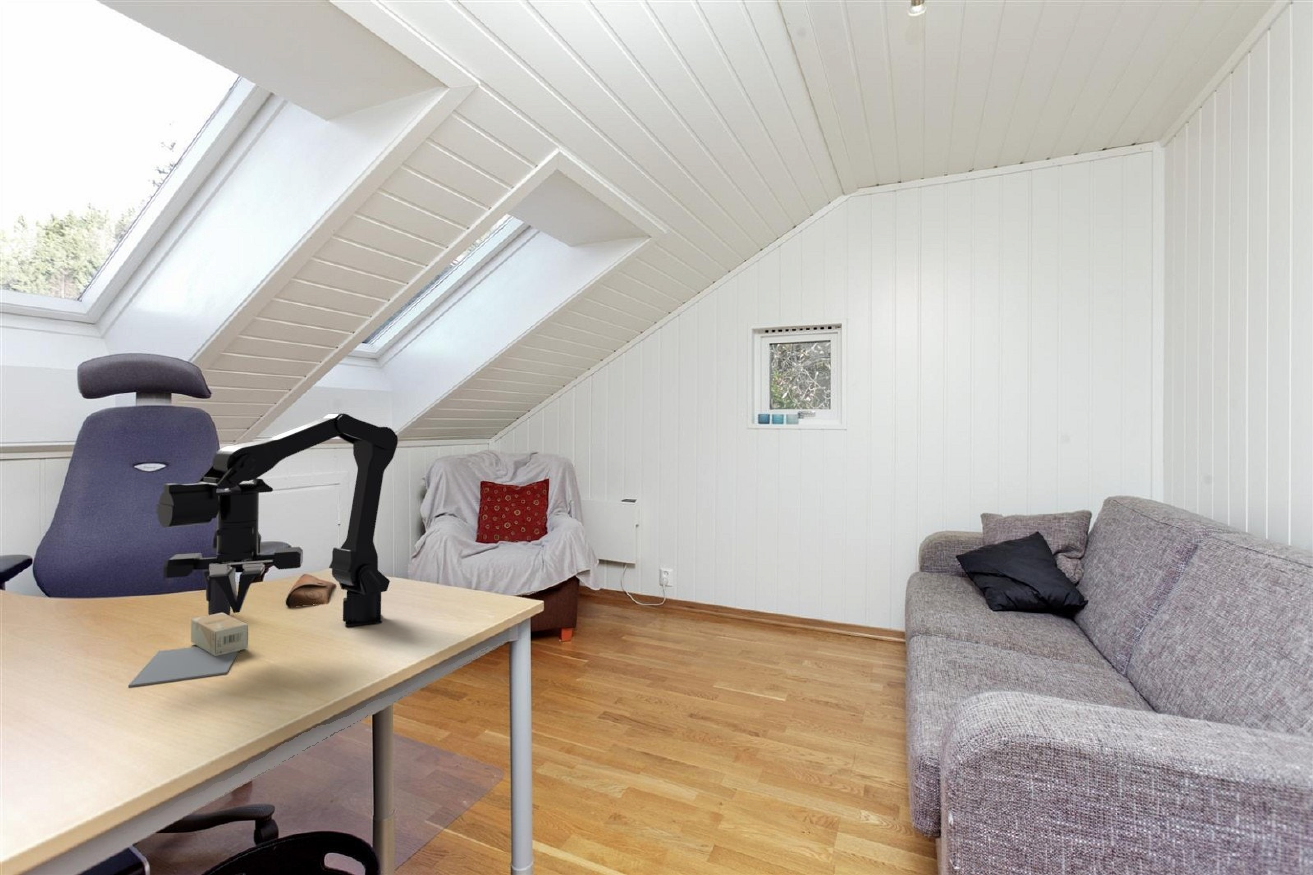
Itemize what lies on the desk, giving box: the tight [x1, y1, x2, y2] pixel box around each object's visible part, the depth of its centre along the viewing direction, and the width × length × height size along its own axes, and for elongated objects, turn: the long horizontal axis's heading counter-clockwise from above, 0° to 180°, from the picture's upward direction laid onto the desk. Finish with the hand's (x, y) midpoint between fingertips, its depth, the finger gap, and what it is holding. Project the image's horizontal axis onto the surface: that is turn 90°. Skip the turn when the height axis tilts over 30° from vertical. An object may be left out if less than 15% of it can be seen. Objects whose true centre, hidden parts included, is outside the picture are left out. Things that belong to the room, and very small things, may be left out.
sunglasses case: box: [285, 573, 336, 609], centre depth 137 cm, size 18×7×7 cm, turn 24°
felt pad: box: [127, 646, 240, 688], centre depth 97 cm, size 12×15×1 cm
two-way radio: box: [202, 562, 232, 616], centre depth 121 cm, size 6×4×15 cm
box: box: [190, 613, 249, 656], centre depth 104 cm, size 5×4×11 cm
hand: (237, 612), depth 100 cm, fingers closed
